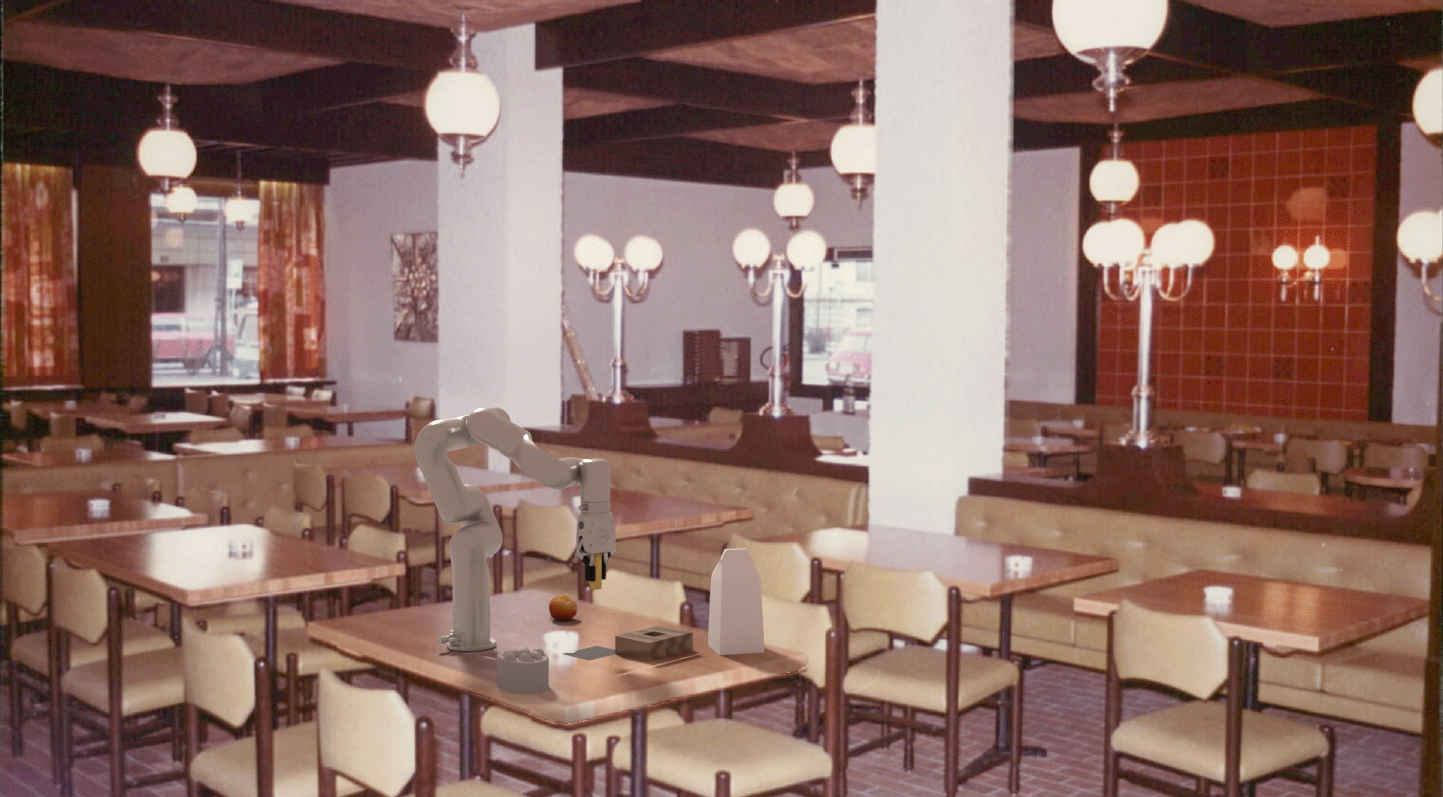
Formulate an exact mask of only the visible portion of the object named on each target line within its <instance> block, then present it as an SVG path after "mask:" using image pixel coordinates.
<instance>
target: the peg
mask: <svg viewBox="0 0 1443 797" xmlns="http://www.w3.org/2000/svg"><path fill="white" fill-rule="evenodd" d="M593 566H595V581H594V582H591V581H589V590H602V589H603V587H602V584H603V582H602V553H599V554H594V564H593Z"/></svg>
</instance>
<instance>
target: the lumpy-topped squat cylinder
mask: <svg viewBox="0 0 1443 797" xmlns="http://www.w3.org/2000/svg"><path fill="white" fill-rule="evenodd" d="M549 661H550V659H549V655H547V654H546V653H545V650H544V649H543V648H541V647H536V648H535V647H534V648H533V649H529V648H528V647H526V646H520V647H519V646H518V647H516V648H514V647H513V648H508V649H506V650H504V651H503V652H501V653H498V654H497V655H496V687H497V689H500V690H502V691H504V692H506V693H509V694H518V695H536V694H535V693H539V694H543V693H546V692H547V691H549V689H550V671H549V670H550V669H549V667H550V666H549V665H550V662H549ZM546 690H547V691H546ZM545 691H546V692H545ZM542 692H543V693H542Z"/></svg>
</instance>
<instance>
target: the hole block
mask: <svg viewBox="0 0 1443 797" xmlns="http://www.w3.org/2000/svg"><path fill="white" fill-rule="evenodd" d="M614 638H615V639H614V641H615V642H614V644H615V645H614V646H615V647H614V650H615V654H614V655H618V656H622V657H627V658H631V659H635V660H640V661H644V662H650V663H651V662H653V661H657V660H661V659H665V658H668V657H673V656H676V655H680V654H683V653H684V654H685V653H687V652H691V651H693V650H694V649H693V648H694V644H693V643H694V642H693V641H694V633H693V631H688V630H684V629H683V630H682V629H678V628H673V627H667V626H663V625H657V626H652V627H647V628H643V629H640V630H635V631H631V632H627V633H621V634H618V635H615V636H614Z"/></svg>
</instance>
